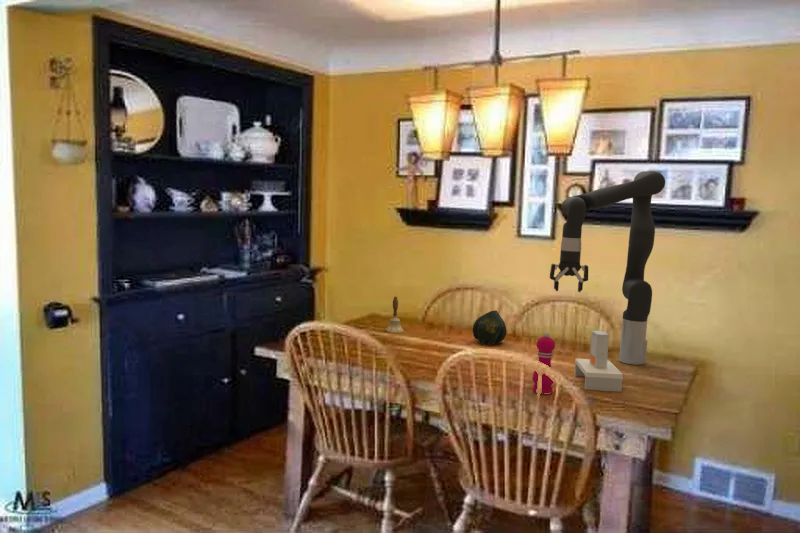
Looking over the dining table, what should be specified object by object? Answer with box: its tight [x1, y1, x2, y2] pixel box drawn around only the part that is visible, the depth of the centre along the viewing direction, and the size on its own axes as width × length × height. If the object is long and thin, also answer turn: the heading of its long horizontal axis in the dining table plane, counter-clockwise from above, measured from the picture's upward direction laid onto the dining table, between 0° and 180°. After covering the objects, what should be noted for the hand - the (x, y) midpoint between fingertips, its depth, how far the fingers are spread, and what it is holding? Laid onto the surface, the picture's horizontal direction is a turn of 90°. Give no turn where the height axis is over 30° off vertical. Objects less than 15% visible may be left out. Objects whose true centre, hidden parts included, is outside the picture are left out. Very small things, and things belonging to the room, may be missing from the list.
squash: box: [471, 310, 507, 346], centre depth 278 cm, size 14×15×15 cm
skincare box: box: [589, 330, 610, 368], centre depth 224 cm, size 6×4×12 cm
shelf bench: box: [573, 358, 624, 393], centre depth 225 cm, size 12×18×6 cm, turn 176°
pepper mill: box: [532, 331, 556, 395], centre depth 211 cm, size 7×7×20 cm
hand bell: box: [385, 296, 404, 334], centre depth 294 cm, size 8×8×16 cm
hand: (567, 291), depth 248 cm, fingers open, 8 cm apart
